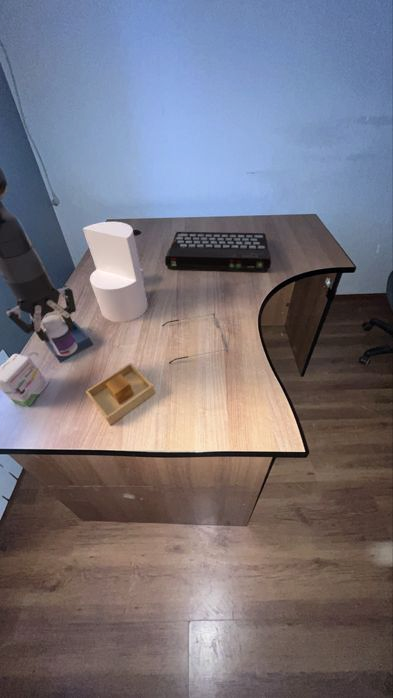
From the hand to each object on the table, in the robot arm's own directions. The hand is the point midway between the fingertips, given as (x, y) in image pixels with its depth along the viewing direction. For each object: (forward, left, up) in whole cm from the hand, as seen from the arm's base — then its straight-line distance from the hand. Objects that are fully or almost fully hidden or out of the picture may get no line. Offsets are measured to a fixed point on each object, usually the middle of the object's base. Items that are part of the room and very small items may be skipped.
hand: (58, 333), depth 65 cm
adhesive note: (+39, +31, -18) cm, 53 cm away
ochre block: (+5, -13, -17) cm, 23 cm away
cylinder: (+27, +20, -18) cm, 38 cm away
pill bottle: (0, 0, -6) cm, 6 cm away
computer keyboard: (+80, +22, -18) cm, 85 cm away
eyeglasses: (+34, -11, -18) cm, 40 cm away
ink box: (-13, +5, -18) cm, 23 cm away
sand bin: (+5, -13, -18) cm, 23 cm away
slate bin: (+3, +16, -18) cm, 24 cm away
